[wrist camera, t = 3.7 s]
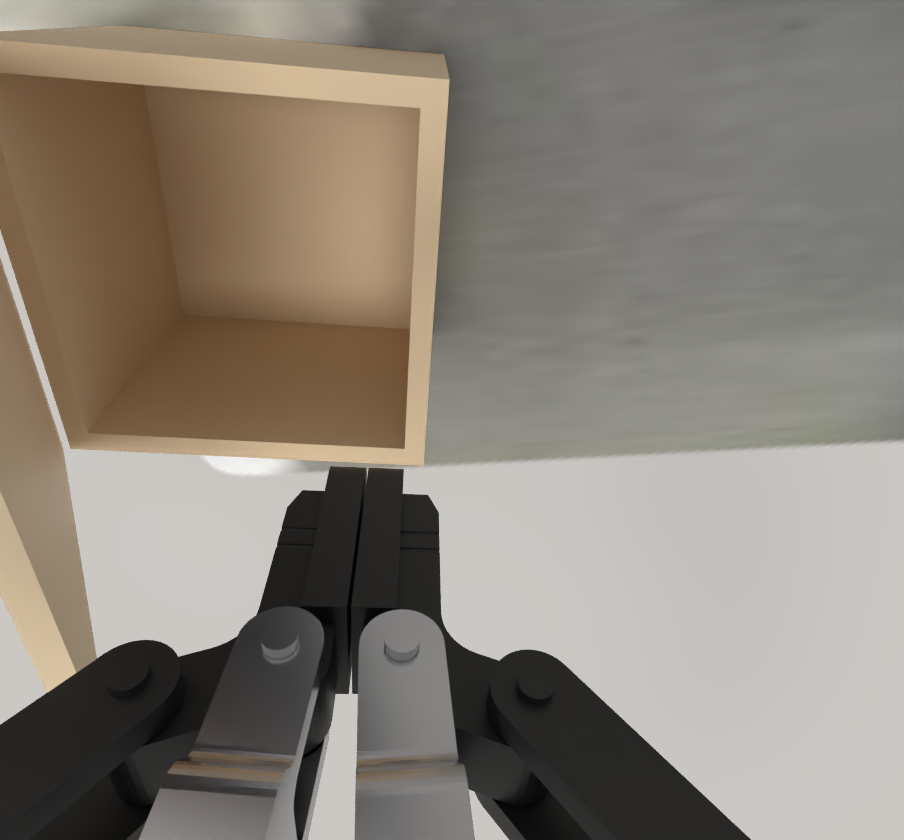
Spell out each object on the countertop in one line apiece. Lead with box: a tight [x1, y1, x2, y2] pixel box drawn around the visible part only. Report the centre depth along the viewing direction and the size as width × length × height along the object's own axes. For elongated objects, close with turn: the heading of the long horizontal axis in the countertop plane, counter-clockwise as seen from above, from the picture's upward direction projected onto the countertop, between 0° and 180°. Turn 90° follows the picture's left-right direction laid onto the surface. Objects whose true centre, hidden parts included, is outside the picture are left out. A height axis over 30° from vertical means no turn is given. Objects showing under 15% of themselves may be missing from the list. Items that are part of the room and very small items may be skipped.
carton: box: [0, 25, 450, 466], centre depth 26 cm, size 14×14×12 cm
